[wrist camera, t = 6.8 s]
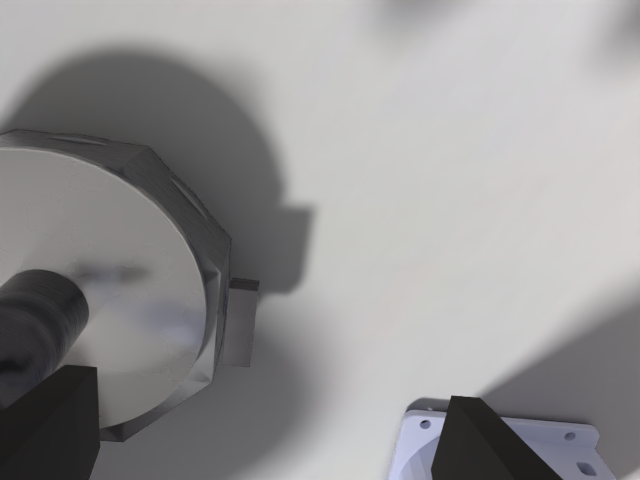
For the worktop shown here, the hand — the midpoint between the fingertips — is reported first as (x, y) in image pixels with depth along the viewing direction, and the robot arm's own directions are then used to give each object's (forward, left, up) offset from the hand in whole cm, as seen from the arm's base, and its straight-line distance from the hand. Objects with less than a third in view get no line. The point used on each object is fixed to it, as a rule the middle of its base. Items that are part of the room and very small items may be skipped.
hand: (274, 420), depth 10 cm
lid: (+8, +2, -8) cm, 11 cm away
